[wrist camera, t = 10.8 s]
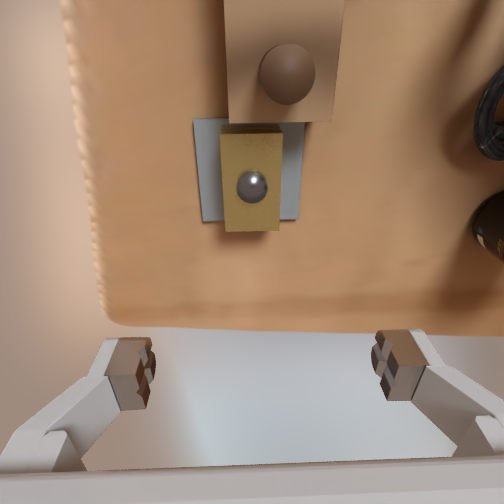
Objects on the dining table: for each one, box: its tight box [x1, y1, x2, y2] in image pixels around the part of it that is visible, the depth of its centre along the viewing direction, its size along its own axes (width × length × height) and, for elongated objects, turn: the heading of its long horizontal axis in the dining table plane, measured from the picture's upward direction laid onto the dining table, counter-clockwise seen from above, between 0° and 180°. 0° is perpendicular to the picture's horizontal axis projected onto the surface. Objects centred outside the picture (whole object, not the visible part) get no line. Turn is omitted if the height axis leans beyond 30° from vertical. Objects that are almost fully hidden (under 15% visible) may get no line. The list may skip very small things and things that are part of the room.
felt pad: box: [193, 118, 305, 221], centre depth 29 cm, size 9×9×1 cm
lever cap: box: [220, 125, 283, 232], centre depth 27 cm, size 8×5×4 cm, turn 1°
